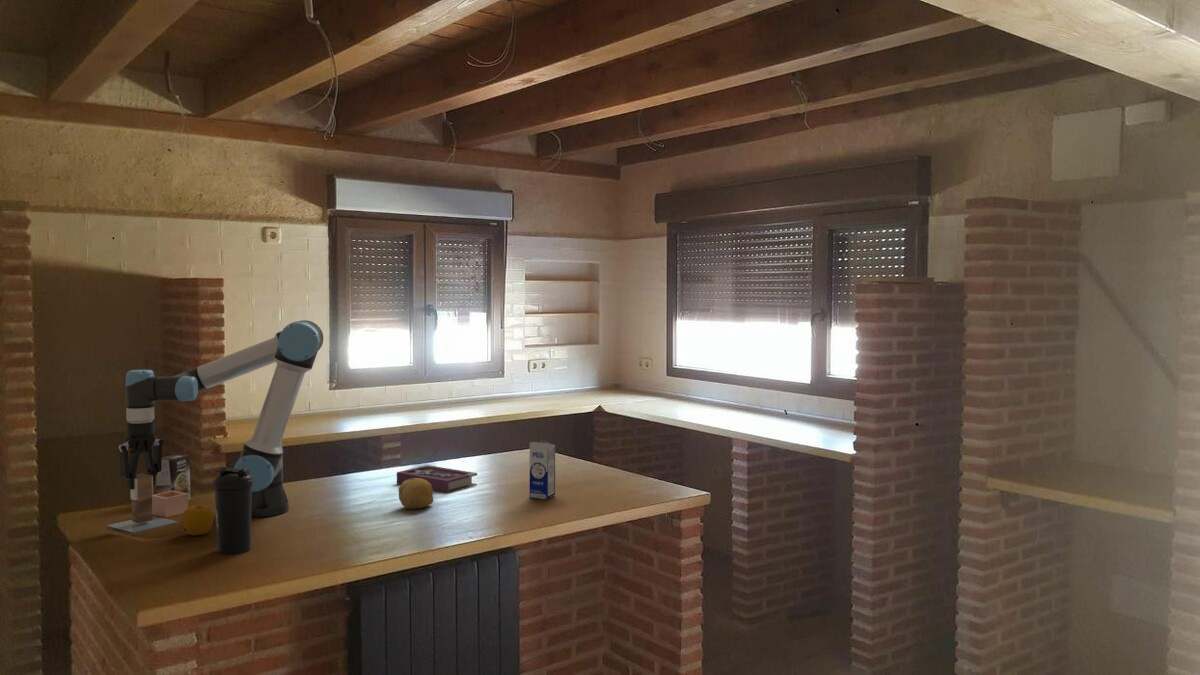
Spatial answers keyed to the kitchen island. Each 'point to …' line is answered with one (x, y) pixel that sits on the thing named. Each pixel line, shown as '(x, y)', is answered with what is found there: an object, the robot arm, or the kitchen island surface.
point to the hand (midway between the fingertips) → (141, 497)
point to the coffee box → (174, 474)
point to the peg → (143, 500)
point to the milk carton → (542, 469)
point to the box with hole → (169, 503)
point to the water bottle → (233, 510)
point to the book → (439, 477)
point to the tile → (140, 525)
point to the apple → (198, 519)
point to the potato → (415, 493)
